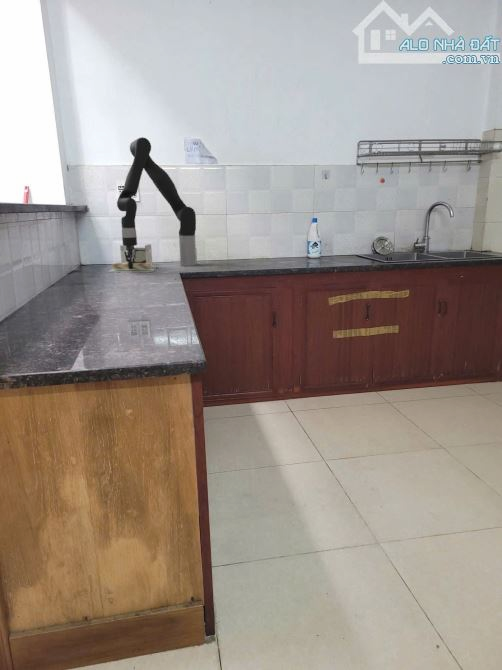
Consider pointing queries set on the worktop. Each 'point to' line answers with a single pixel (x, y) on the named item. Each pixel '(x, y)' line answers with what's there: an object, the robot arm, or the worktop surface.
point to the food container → (140, 255)
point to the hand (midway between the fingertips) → (131, 268)
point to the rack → (147, 252)
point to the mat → (132, 270)
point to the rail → (135, 266)
